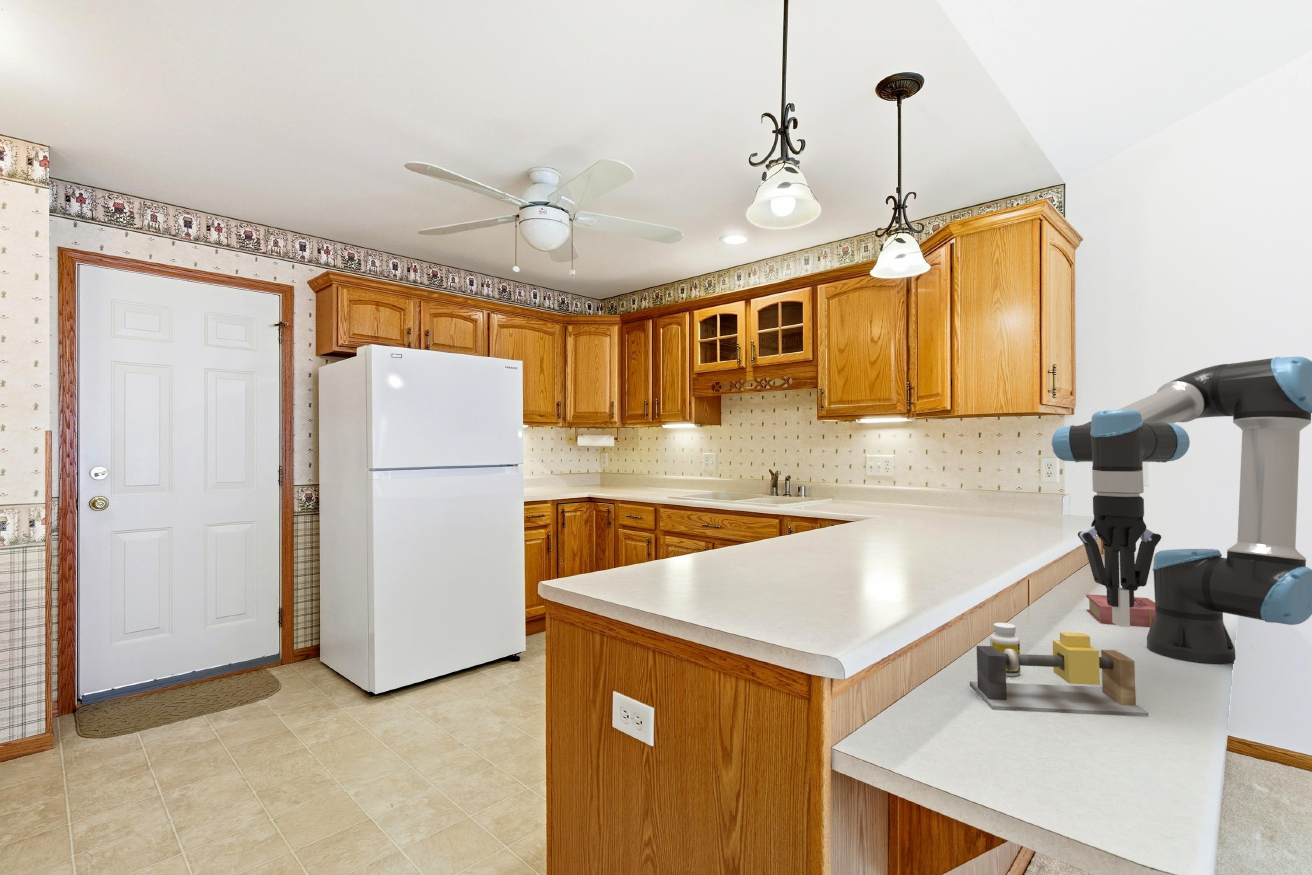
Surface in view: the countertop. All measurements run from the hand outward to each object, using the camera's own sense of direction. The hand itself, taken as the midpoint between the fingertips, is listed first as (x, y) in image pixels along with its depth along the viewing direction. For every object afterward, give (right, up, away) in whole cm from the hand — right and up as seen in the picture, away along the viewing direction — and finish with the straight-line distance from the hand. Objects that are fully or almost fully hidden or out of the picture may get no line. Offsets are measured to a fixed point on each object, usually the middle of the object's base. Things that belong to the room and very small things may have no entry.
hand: (1121, 624), depth 114 cm
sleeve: (-7, -10, +1) cm, 13 cm away
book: (+42, -16, +55) cm, 71 cm away
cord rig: (-11, -14, +2) cm, 18 cm away
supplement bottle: (-12, -15, +16) cm, 25 cm away
